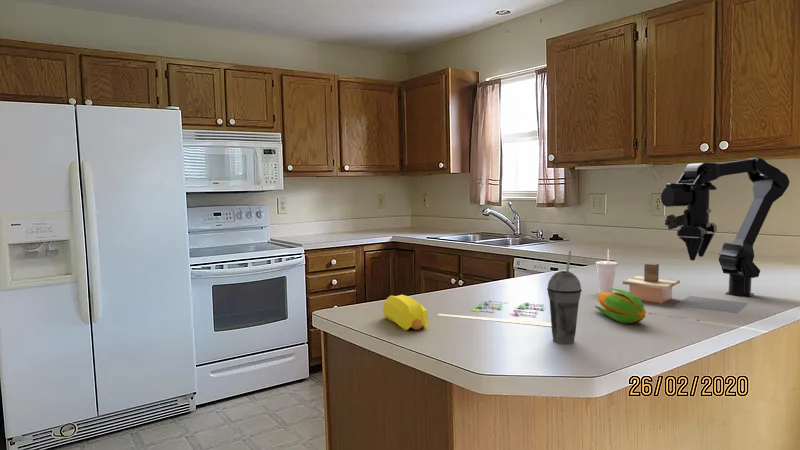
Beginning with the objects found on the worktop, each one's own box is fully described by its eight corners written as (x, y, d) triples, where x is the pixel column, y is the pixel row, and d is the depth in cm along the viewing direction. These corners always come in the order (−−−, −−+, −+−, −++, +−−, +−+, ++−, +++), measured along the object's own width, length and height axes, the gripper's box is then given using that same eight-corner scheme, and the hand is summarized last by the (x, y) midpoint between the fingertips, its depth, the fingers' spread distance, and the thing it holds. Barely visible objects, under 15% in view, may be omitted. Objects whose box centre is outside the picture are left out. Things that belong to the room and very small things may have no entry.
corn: (626, 296, 128) (586, 281, 147) (623, 328, 128) (584, 308, 148) (655, 297, 129) (611, 282, 148) (652, 329, 129) (609, 309, 149)
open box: (639, 295, 164) (640, 279, 163) (671, 300, 158) (672, 283, 157) (629, 300, 157) (629, 284, 157) (661, 305, 151) (662, 287, 151)
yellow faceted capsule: (403, 335, 125) (433, 331, 128) (403, 306, 125) (433, 303, 128) (378, 317, 142) (405, 314, 145) (378, 292, 142) (405, 289, 144)
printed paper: (436, 316, 143) (436, 310, 143) (471, 296, 170) (471, 292, 170) (552, 328, 130) (552, 322, 130) (570, 304, 157) (570, 299, 157)
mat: (689, 297, 161) (689, 295, 161) (748, 304, 151) (748, 303, 151) (674, 306, 150) (674, 304, 150) (736, 314, 140) (736, 313, 140)
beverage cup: (541, 336, 122) (542, 249, 120) (572, 335, 122) (574, 248, 121) (553, 346, 115) (554, 253, 113) (586, 345, 115) (588, 253, 114)
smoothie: (618, 295, 165) (619, 250, 163) (596, 294, 166) (597, 249, 165) (614, 291, 171) (615, 247, 170) (593, 290, 172) (594, 247, 171)
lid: (637, 278, 165) (637, 259, 165) (679, 283, 157) (680, 263, 157) (622, 284, 157) (623, 264, 156) (666, 289, 149) (667, 268, 148)
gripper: (677, 204, 170) (676, 252, 171) (658, 206, 157) (657, 260, 158) (717, 204, 163) (716, 255, 164) (701, 207, 149) (699, 263, 150)
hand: (696, 258), depth 159 cm, fingers open, 9 cm apart
